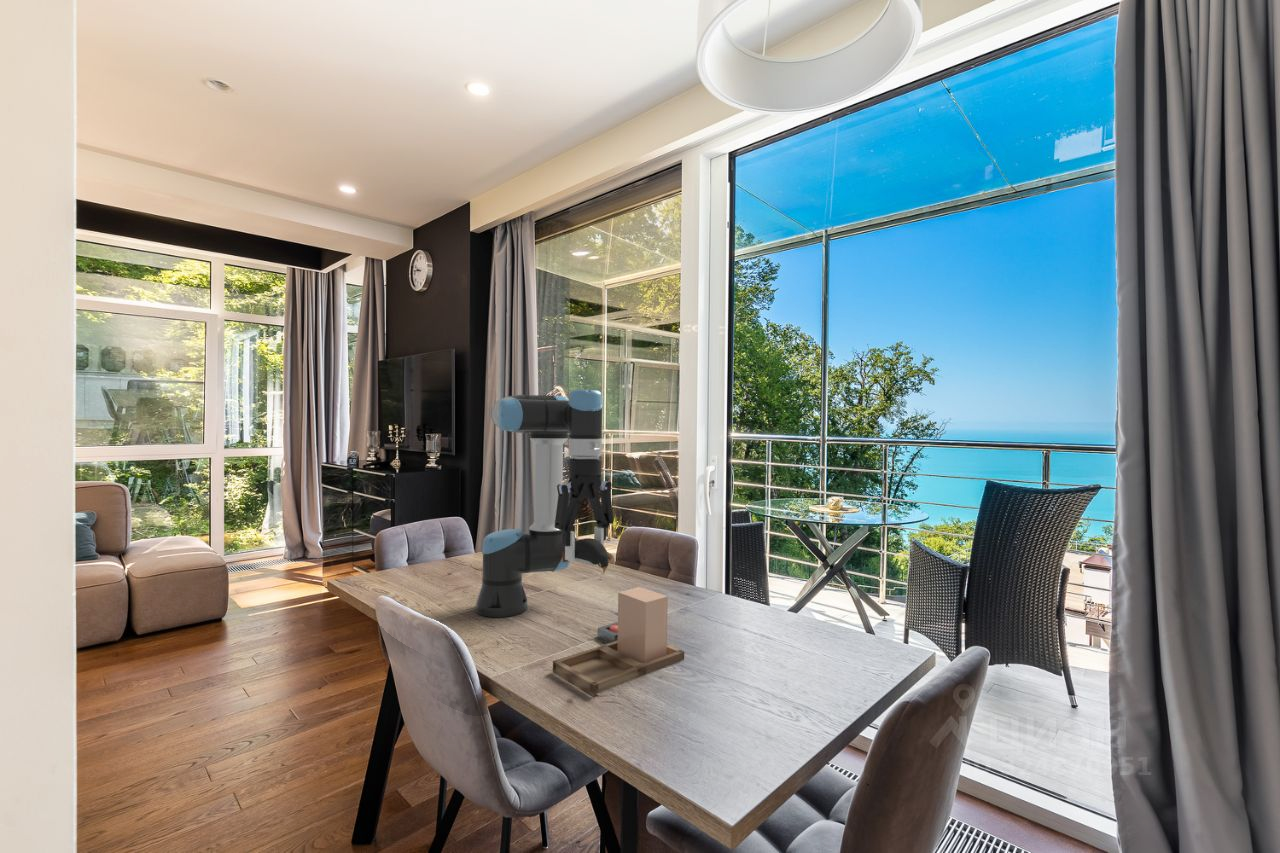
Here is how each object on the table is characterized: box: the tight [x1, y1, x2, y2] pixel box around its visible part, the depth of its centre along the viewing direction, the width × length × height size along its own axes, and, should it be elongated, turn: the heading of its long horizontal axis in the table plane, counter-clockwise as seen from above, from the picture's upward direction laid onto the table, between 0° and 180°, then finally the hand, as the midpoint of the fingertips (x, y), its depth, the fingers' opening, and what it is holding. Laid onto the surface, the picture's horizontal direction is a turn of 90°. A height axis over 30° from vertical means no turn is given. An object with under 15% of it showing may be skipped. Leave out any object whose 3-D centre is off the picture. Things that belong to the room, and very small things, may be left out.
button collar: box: [597, 621, 618, 643], centre depth 151 cm, size 7×7×3 cm
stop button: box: [610, 625, 618, 633], centre depth 151 cm, size 4×4×3 cm
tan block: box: [617, 586, 669, 664], centre depth 139 cm, size 10×7×15 cm
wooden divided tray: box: [552, 641, 685, 698], centre depth 135 cm, size 15×27×3 cm, turn 132°
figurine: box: [562, 537, 610, 574], centre depth 132 cm, size 7×10×15 cm
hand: (584, 557), depth 132 cm, fingers closed on figurine, 7 cm apart
